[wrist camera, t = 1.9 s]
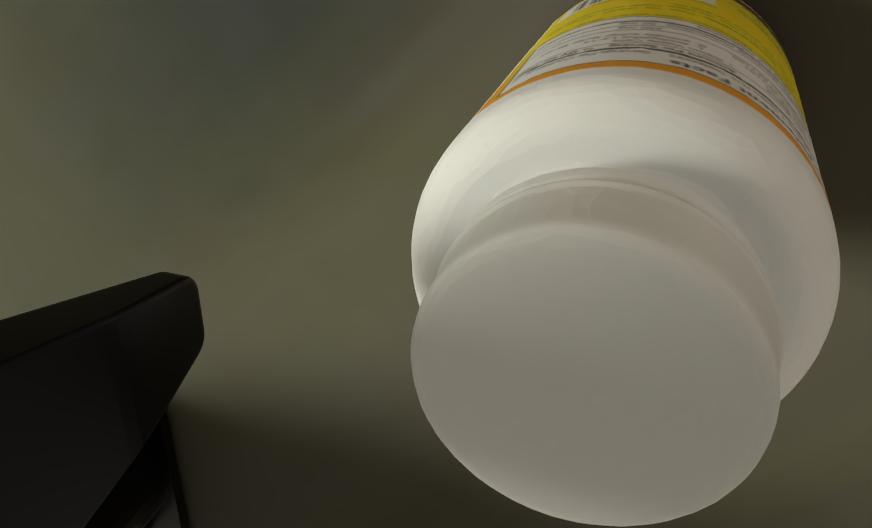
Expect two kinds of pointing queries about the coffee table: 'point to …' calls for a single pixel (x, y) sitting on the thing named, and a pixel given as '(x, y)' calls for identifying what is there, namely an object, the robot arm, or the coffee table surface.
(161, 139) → the coffee table surface
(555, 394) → the supplement bottle
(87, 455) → the robot arm
